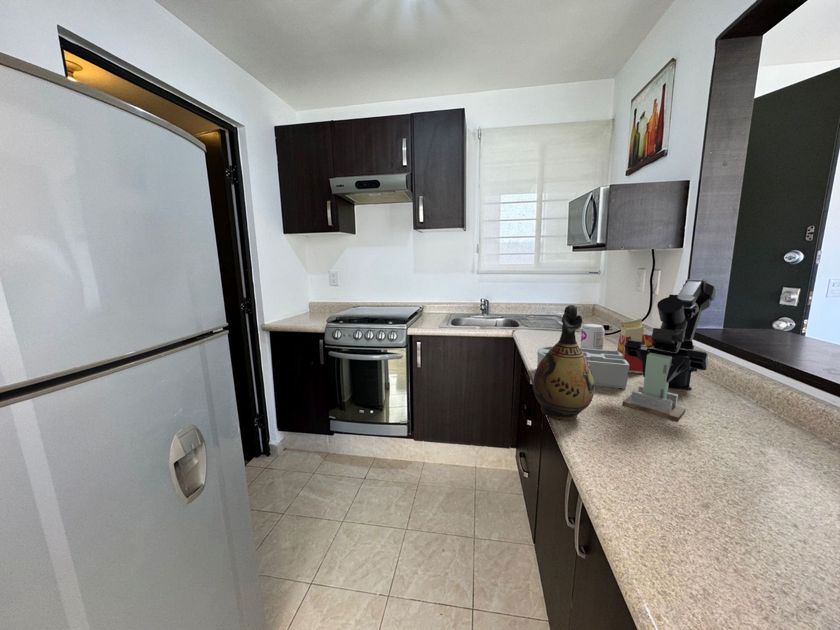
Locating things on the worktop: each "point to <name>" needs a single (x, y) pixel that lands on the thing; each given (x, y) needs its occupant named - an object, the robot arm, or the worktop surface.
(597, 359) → the gray compartment organizer
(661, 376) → the door panel
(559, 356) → the ceramic jug
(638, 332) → the milk carton
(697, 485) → the worktop surface
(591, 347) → the supplement can
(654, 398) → the slotted panel holder
